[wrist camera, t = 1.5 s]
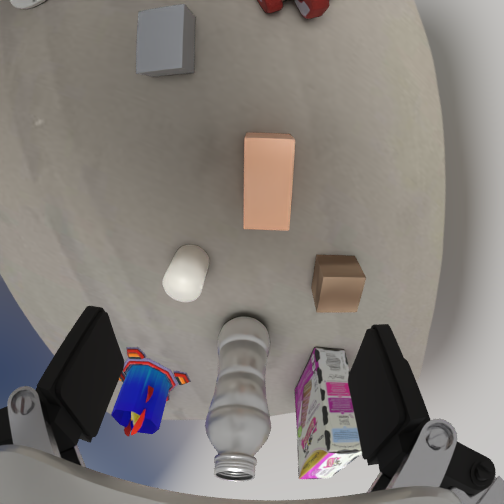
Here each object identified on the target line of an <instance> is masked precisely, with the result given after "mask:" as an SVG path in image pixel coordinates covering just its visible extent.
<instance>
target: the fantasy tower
mask: <svg viewBox="0 0 504 504" xmlns="http://www.w3.org/2000/svg"><path fill="white" fill-rule="evenodd" d="M126 348H127V355H128V357H129V358H128V359H127V361H126V362H125V364H124V368H123V371H124V373H125V375H126V377H125V375H124V374H123V372H122V373H121V375H120V378H119V380H120V381H122V382H123V385H122V387H121V390H120V393H119V395H118V398H117V401H116V403H115V406H114V409H113V411H112V414H111V415H112V416H113V417H114V418H115V420H116V421H117V422H118V423H119V424H120V425H122V426H124V427H125V429H124V431H125V434H126V435H127V436H129V434H130V431H131V430H132V432H131V435H133V434H135V433H137V432H140V433H148V434H153V433H155V432H156V431H157V430H159V427H160V423H161V419H162V415H163V411H164V407H165V403H166V401H168V400H169V394H168V393H169V392H170V391H171V390H172V389H173V388H174V387H176V386H177V385H178V383H179V385H183V384H185V383H188V382H190V379H189V377H188V375H187V373H184V372H179V371H174V375H175V377H174V375H173V373H172V371H171V370H170V369H168V368H166V367H164V366H162V365H160V364H158V363H157V362H155V361H153V360H151V359H149V358H145V357H146V355H145V354H144V353H143V352H142V351H141V350H140V349H139V348H131V347H126ZM175 378H176V379H175ZM176 380H177V381H178V383H177V381H176Z"/></svg>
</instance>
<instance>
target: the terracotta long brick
mask: <svg viewBox="0 0 504 504" xmlns="http://www.w3.org/2000/svg"><path fill="white" fill-rule="evenodd" d="M294 150H295V139H294V138H293V137H292V136H291V135H290V134H279V133H248V132H247V134H246V136H245V140H244V229H259V230H289V225H290V212H291V198H292V183H293V167H294Z"/></svg>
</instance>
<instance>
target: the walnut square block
mask: <svg viewBox="0 0 504 504" xmlns="http://www.w3.org/2000/svg"><path fill="white" fill-rule="evenodd" d="M365 280H366V277H365V275H364V273H363V271H362V269H361V267H360V265H359V263H358V261H357V259H356V257H355V256H345V255H316V261H315V267H314V274H313V281H312V287H311V289H312V293H313V298H314V302H315V307H316V311H317V312H357V309H358V305H359V302H360V298H361V295H362V291H363V287H364V284H365Z"/></svg>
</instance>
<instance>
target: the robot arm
mask: <svg viewBox="0 0 504 504" xmlns="http://www.w3.org/2000/svg"><path fill="white" fill-rule="evenodd" d="M44 1H46V0H10V3H11V4H12V5H13V6H14V7H16V8H20V9H29V8H33V7H35V6H37V5H39V4H41V3H43V2H44ZM123 368H124V359H123V356H122V354H121V351H120V348H119V345H118V343H117V340H116V337H115V334H114V331H113V328H112V325H111V322H110V319H109V316H108V313H107V312H105V311H104V309H103V308H101V307H94V306H87V307H86V309H85V310H84V312H83V313H82V314H81V316H80V317H79V319H78V320H77V322H76V323H75V325H74V326H73V328H72V329H71V331H70V332H69V334H68V335H67V337H66V338H65V340H64V341H63V343H62V345H61V346H60V348H59V349H58V351H57V353H56V354H55V356H54V357H53V359H52V361H51V362H50V364H49V366H48V367H47V369H46V371H45V372H44V374H43V376H42V377H41V379H40V381H39V383H38V384H37V388H36V390H34V389H33V388H31V387H27V386H24V387H20V388H18V389H16V390H15V391H13V392H12V394H11V395H10V397H9V399H8V406H7V407H4V408H2V409H0V504H504V481H503V480H502V478H501V477H500V476H498V477H497V478H496V477H495V467H494V464H493V462H492V461H491V460H490V459H489V458H487V457H486V456H484V455H482V454H480V453H478V452H476V451H474V450H472V449H470V448H468V447H466V446H464V445H462V444H461V443H459V442H457V433H456V431H455V428H454V427H453V426H452V425H451V423H449V422H447V421H446V420H443V419H433V420H430V418H429V415H428V412H427V409H426V406H425V404H424V401H423V398H422V396H421V393H420V390H419V388H418V385H417V383H416V380H415V378H414V375H413V373H412V370H411V368H410V365H409V363H408V361H407V360H406V359H405V358H404V357H403V355H402V353H401V350H400V348H399V346H398V343H397V341H396V339H395V337H394V334H393V332H392V330H391V328H390V326H389V325H388V324H383V325H373V326H372V327H371V329H367V331H366V333H365V336H364V339H363V341H362V344H361V346H360V349H359V351H358V354H357V356H356V359H355V361H354V364H353V366H352V368H351V371H350V373H349V376H348V386H349V391H350V396H351V400H352V405H353V410H354V415H355V419H356V424H357V430H358V435H359V440H360V445H361V451H362V456H363V458H364V459H367V462H368V465H373V464H379V469H380V473H379V475H378V476H377V478H376V479H375V481H374V482H373V484H372V485H371V487H370V488H369V490H368V492H367V493H362V494H355V495H348V496H340V497H331V498H321V499H308V500H285V501H263V500H238V499H225V498H215V497H206V496H198V495H191V494H185V493H179V492H173V491H168V490H163V489H159V488H154V487H149V486H145V485H141V484H137V483H133V482H130V481H126V480H122V479H119V478H116V477H113V476H109V475H106V474H103V473H100V472H97V471H94V470H91V469H89V468H86V466H85V463H84V461H83V459H82V456H81V454H80V451H79V448H78V446H77V443H78V440H79V439H82V440H85V441H87V442H91V440H92V437H95V436H96V435H97V433H98V431H99V428H100V425H101V423H102V420H103V417H104V415H105V412H106V410H107V407H108V405H109V402H110V400H111V397H112V395H113V392H114V390H115V387H116V385H117V382H118V380H119V378H120V375H121V373H122V371H123Z"/></svg>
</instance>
